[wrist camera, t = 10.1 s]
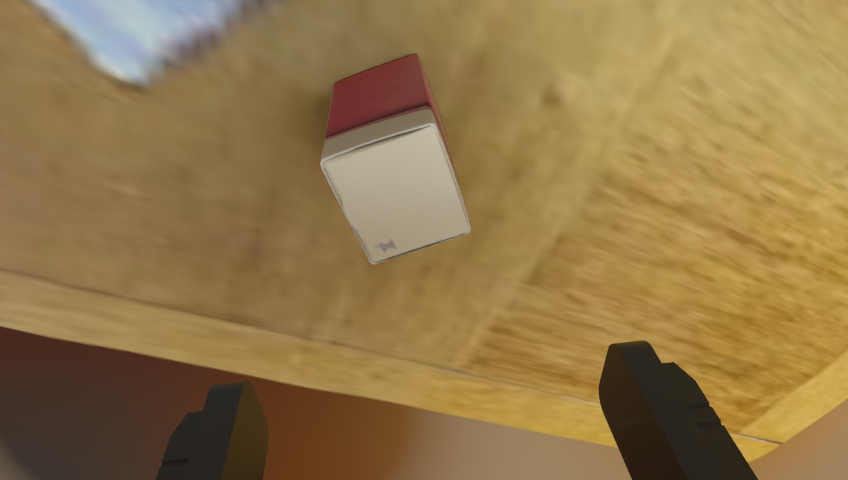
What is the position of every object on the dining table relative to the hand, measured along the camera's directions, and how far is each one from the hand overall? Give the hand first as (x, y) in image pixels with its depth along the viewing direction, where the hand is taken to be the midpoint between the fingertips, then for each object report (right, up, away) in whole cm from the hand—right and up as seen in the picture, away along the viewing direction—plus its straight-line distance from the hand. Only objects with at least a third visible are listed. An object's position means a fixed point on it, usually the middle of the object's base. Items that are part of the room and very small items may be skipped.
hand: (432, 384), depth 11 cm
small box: (-2, +9, +13) cm, 16 cm away
